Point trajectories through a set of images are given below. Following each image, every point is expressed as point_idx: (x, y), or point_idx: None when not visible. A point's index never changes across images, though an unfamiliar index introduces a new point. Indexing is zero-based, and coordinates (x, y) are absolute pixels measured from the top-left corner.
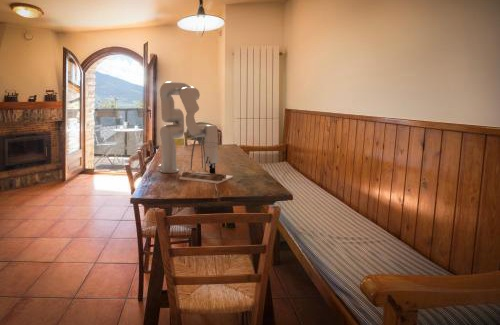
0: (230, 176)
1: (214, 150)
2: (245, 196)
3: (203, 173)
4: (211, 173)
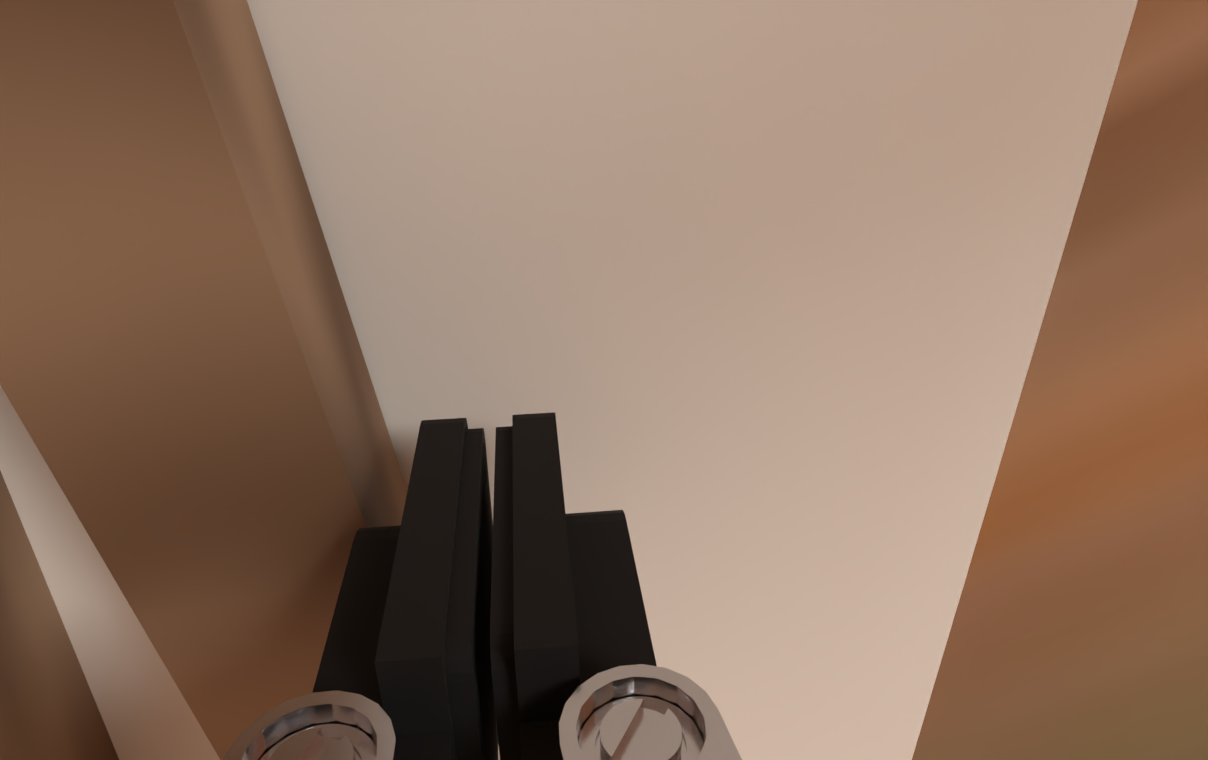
0: None
1: None
2: None
3: (51, 212)
4: None
